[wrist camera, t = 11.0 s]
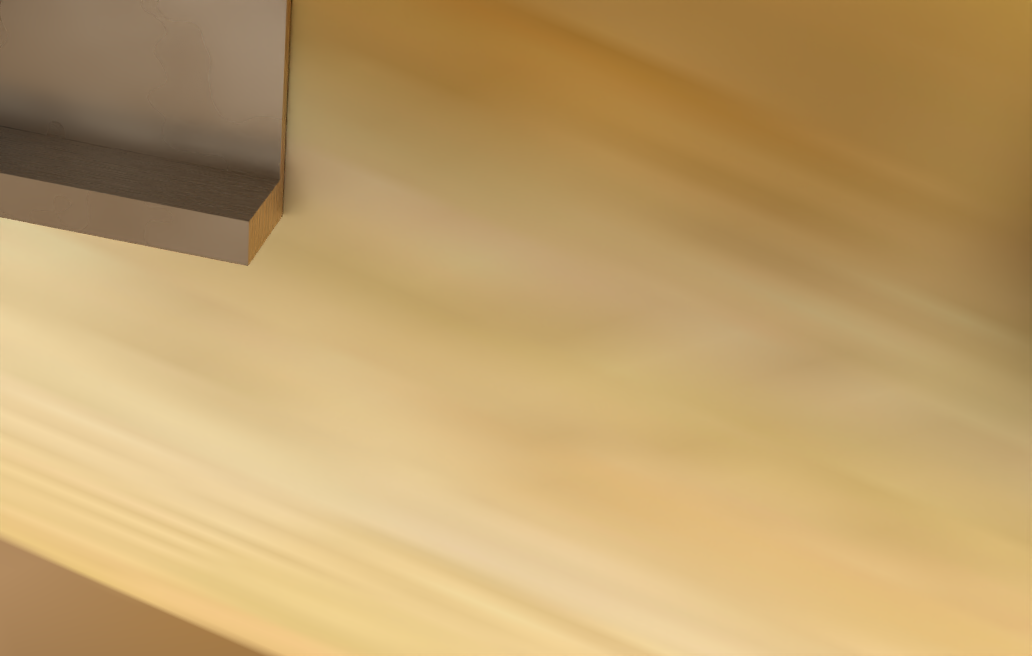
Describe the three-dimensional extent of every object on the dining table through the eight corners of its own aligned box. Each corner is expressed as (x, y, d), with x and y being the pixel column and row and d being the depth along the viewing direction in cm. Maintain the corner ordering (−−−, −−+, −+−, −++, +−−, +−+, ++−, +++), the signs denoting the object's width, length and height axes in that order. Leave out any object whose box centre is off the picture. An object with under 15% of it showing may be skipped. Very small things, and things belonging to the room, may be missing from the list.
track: (296, -125, 18) (256, -104, 16) (282, 215, 22) (248, 265, 20) (-163, -216, 18) (-259, -206, 16) (-97, 141, 22) (-168, 184, 20)
